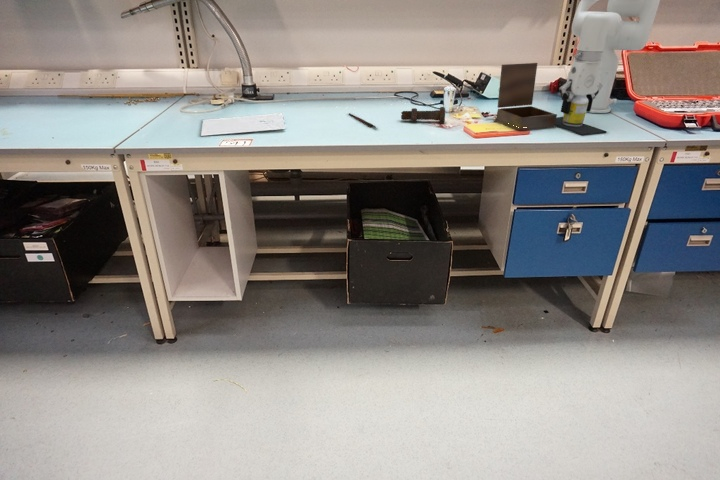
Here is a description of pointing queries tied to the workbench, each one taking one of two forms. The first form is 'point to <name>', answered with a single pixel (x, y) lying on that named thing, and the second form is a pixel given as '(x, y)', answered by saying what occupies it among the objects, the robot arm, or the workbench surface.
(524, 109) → the box
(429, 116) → the bolt
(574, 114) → the pill bottle
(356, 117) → the pen
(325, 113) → the workbench surface
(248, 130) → the paper sheet
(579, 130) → the mat
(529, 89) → the lid
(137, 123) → the workbench surface
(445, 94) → the milkshake
